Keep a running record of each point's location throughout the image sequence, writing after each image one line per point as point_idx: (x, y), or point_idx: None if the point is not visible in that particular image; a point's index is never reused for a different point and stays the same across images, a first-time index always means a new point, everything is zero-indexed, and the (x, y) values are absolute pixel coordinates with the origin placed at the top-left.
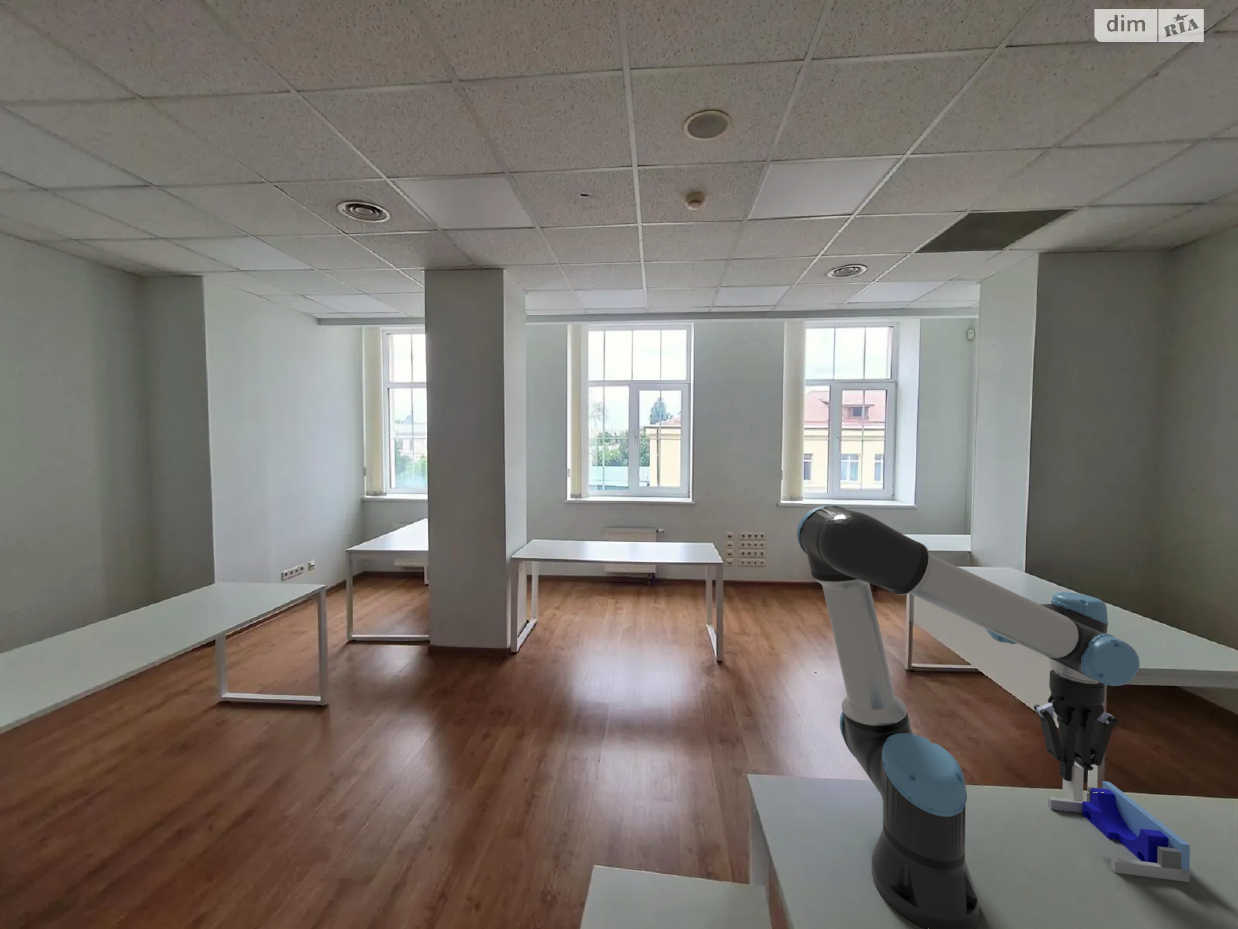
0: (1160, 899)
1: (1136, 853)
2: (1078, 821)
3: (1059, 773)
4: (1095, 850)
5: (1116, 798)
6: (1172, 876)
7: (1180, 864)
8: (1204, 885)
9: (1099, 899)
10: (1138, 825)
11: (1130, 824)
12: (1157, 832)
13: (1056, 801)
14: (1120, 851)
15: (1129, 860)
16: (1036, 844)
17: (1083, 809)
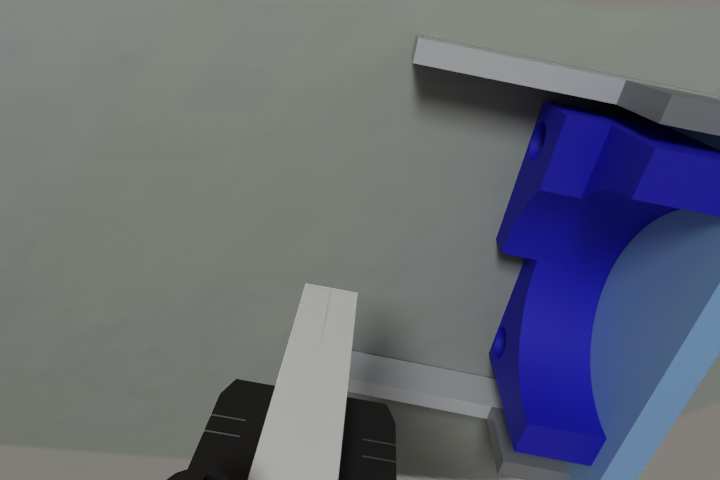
0: None
1: (505, 325)
2: (472, 142)
3: (220, 396)
4: (376, 284)
5: (718, 223)
6: None
7: None
8: None
9: None
10: (628, 314)
11: (634, 263)
12: (581, 444)
13: (440, 68)
14: (471, 293)
15: (401, 390)
16: (168, 248)
17: (551, 113)
